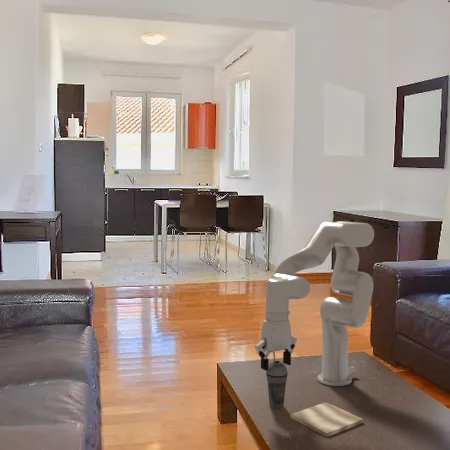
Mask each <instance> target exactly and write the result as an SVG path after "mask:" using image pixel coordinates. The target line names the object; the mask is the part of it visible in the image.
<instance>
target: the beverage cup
mask: <svg viewBox="0 0 450 450" xmlns="http://www.w3.org/2000/svg"><path fill="white" fill-rule="evenodd" d="M272 355H273V361H271V362H270V363H269V370H268V371H265V374H266V380H267V390H268V391H267V392H268V400H269V401H268V403H269V408H270V409H272V410H278V411H279V410H282V409H284V406H285V405H284V403H285V396H286V395H285V394H286V387H287V386H286V385H287V379H288V375H289V374H288V369H287V366H286V364H285V363H283V361H279V360H276V351H275V352H272Z"/></svg>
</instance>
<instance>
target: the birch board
mask: <svg viewBox="0 0 450 450" xmlns="http://www.w3.org/2000/svg"><path fill="white" fill-rule="evenodd" d="M289 417H290V418H289V419H291V420H293V421H295V422H297V423H299V424H301V425H303V426H305V427H307V428H309V429H311V430H312V431H314V432H316V433H318V434H321V435H322V436H324V437H326V438H328V437H331V436H333V435H335V434H338V433H341V432H343V431H347V430H348V429H351V428H353V427H356V426H359V425H361V424H364V419H363V418H361V417H359V416H357V415H356V414H355V415H354V414H353V413H351V412H349V411H346V410H344V409H341V408H340V407H338V406H335V405H333V404H331V403H329V402H326V401H324V402H322V403H320V404H316V405H313V406H310V407H307V408H305V409H301V410H299V411H295V412H292V413H290V415H289Z"/></svg>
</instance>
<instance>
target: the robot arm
mask: <svg viewBox="0 0 450 450" xmlns="http://www.w3.org/2000/svg"><path fill="white" fill-rule="evenodd" d="M374 238H375V230H374V227H373V226H372V225H371V224H369V223H365V222H355V221H345V220H344V221H343V220H342V221H341V220H340V221H324V222H322V223H320V224H319V225H318V226H317V228H316V229H315V231H313V233H312V235H311V236H310V238H309V239H308V241H307V242H306V244H305V245H304V246H303V248H302V249H301V250H299V251H297V252H295V253H294V254H292V255H290V256H289V257H287V258H286V259H283V261H281V262H280V263H279V264H278V265H277V267H276V268H275V270H274V272H273V273H272V275H271V277H270V278H269V279H267V280H266V284H265V319H264V320H263V322H262V325H261V330H260V331H261V332H260V341H259V342H258V343H257V344H256V345H254V349H255V352H256V354H257V355H258V356H259V358H260V369H261V370H264V371H265V372H266V371H268V370H269V364H270V363H269V361H270V360H269V358H268V357H269V356H270V354H271V353H273V352H275V353H276V352H279V351H283V350H284V351H283V353H282V355H283V356H282V363H283V364H284V365H287V366H291V364H292V353H293V350H294V348H295V347H296V343H297V340H298V339H297V337H294V336H293V335H292V330H291V328H292V327H291V322H290V319H289V315H290V314H291V312H290V307H289V306H290V300H302V299H304V298H306V297H307V296H308V295H309V293H310V291H311V284H310V283H309V280H307V278H305V277H302V276H297V275H295V274H296V273H299V272H301V271H304V270H308V269H313V268H316V267H318V266H319V267H320V266H321V265H322V264H323V263H324V262H325V261H326V259H327V258H328V256H330V253H331V251H332V250H333V248H335V253H336V259H335V262H334V266H333V272H332V274H331V278H330V285H329V286H330V289H331V291H332V292H333V293H335V294H338V295H341V296H348V297H352V299H348V298H342V297H337V296H328V297H325V298H324V299H322V301H321V303H320V305H319V315H320V319H321V329H322V330H321V332H322V333H321V334H322V335H321V337H322V340H321V341H322V342H321V348H322V350H321V373H320V372H319V374H317V380H318V382H319V383H320V384H323V385H326V386H330V387H344V386H348V385H350V384H351V383H352V380H353V379H352V376H351V375H350V374H351V373H353V372H356V371H357V369H356V366H354V365H353V366H352V365H351V366H350V367H349V364H348V363H349V333H348V329H347V327H348V328H355V329H358V328H361V327H362V326H364V324H365V323H366V321H367V318H368V314H369V310H370V306H371V301H372V296H373V292H374V280H373V277H372V275H370V274H369V273H367V272H365V271H358V268H359V264H360V255H359V252H358V250H357V248H363V247H367V246H369V245H371V244H372V243H373V241H374Z"/></svg>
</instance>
